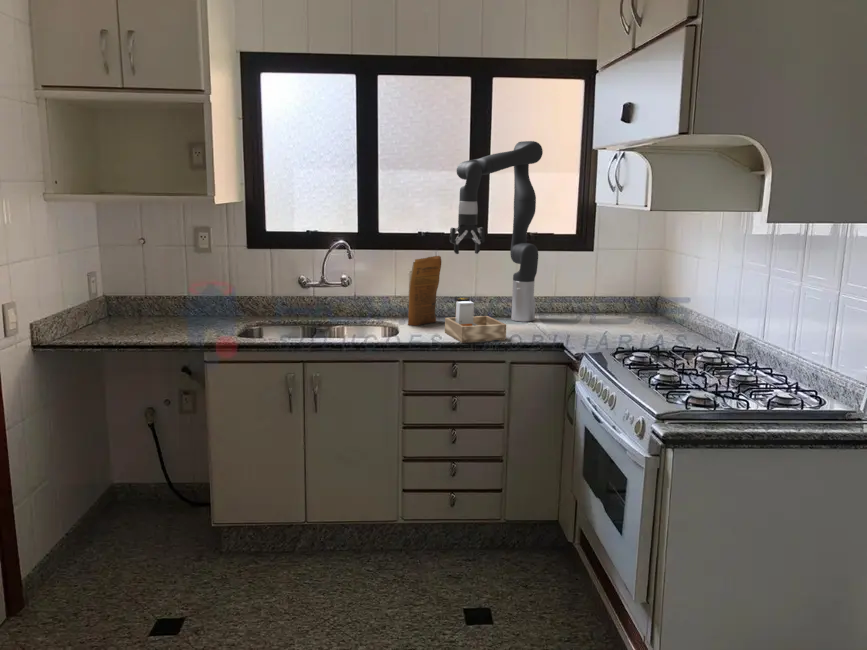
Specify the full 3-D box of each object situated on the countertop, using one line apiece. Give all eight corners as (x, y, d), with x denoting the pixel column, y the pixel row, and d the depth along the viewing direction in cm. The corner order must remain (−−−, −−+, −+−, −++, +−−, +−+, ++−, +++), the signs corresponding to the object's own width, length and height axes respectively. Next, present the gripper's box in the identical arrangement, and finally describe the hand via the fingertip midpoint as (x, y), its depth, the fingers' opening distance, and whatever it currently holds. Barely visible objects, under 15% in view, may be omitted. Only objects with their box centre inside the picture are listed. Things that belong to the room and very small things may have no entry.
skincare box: (458, 333, 278) (459, 303, 276) (455, 331, 282) (455, 301, 280) (473, 333, 280) (474, 302, 278) (469, 331, 284) (470, 300, 282)
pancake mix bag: (445, 321, 307) (446, 255, 302) (412, 327, 294) (413, 258, 288) (434, 319, 312) (435, 254, 306) (401, 325, 298) (402, 257, 293)
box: (486, 330, 291) (487, 315, 290) (505, 340, 274) (506, 324, 273) (444, 332, 285) (445, 317, 284) (461, 342, 268) (462, 326, 267)
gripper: (480, 212, 294) (479, 252, 297) (447, 212, 289) (446, 253, 292) (488, 213, 287) (486, 254, 290) (454, 213, 282) (453, 254, 285)
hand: (466, 253), depth 291 cm, fingers open, 8 cm apart
